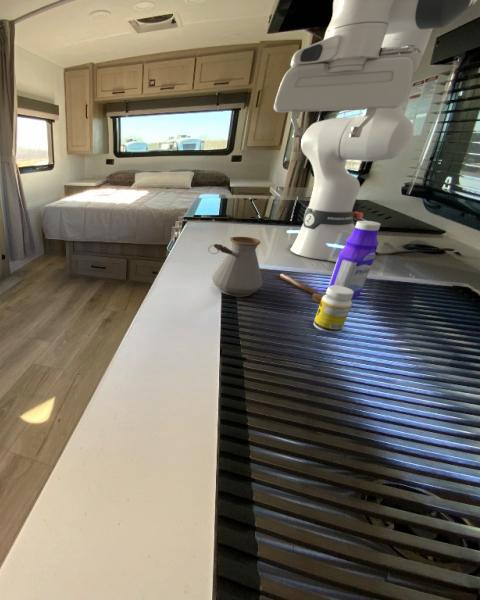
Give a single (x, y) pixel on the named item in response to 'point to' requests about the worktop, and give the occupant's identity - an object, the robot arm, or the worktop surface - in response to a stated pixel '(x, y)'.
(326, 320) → the supplement bottle
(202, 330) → the worktop surface
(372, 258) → the bottle
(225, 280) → the coffee pot
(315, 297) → the wooden spoon
